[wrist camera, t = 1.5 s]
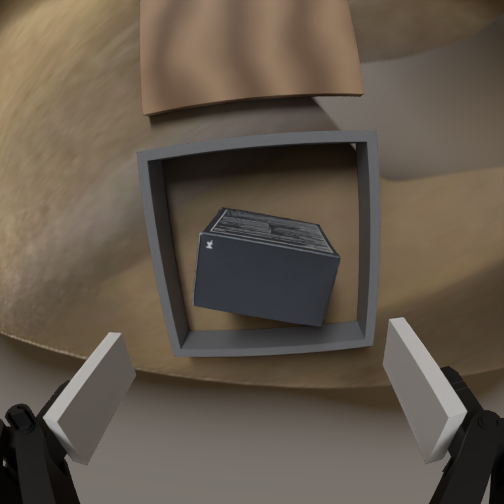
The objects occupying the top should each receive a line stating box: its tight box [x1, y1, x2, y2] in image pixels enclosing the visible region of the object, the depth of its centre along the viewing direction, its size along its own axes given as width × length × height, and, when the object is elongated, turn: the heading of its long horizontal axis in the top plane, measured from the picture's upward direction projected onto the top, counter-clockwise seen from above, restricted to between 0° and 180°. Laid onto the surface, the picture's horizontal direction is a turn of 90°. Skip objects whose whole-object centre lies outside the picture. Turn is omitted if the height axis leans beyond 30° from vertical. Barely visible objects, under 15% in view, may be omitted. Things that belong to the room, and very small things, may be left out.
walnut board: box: [140, 0, 364, 116], centre depth 25 cm, size 22×18×2 cm
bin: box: [137, 131, 380, 357], centre depth 31 cm, size 22×22×4 cm
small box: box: [192, 207, 341, 326], centre depth 28 cm, size 11×6×10 cm, turn 81°
